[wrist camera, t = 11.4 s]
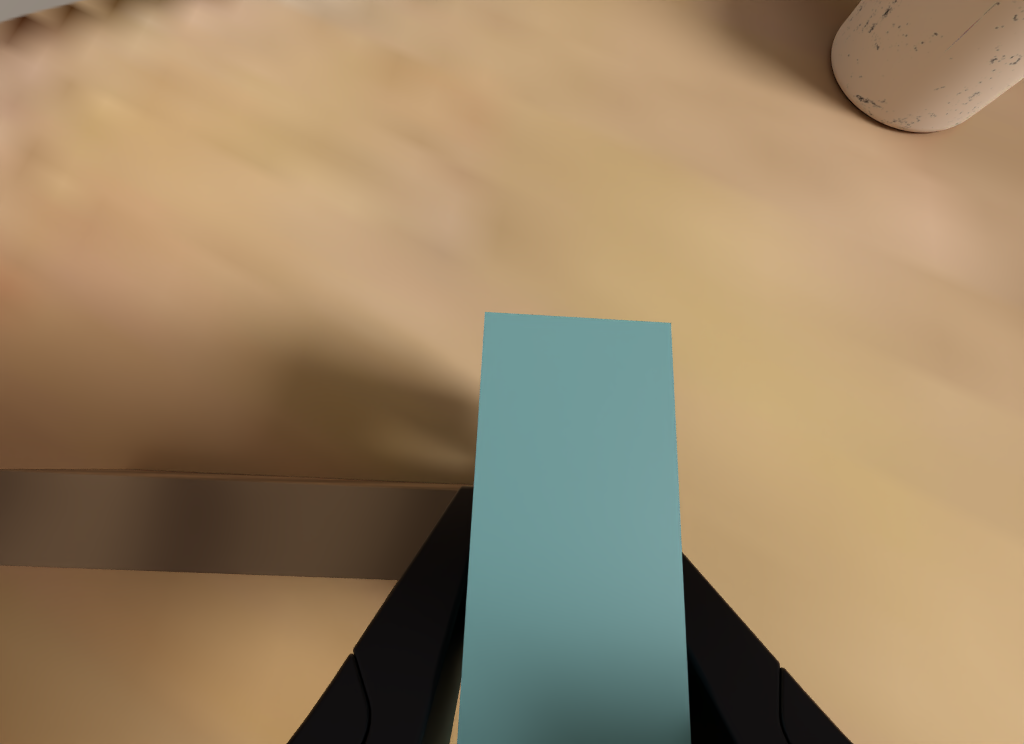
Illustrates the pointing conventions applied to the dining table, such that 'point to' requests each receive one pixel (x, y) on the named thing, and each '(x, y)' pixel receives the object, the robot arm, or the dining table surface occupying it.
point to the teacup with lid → (928, 59)
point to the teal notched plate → (575, 538)
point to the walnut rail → (215, 522)
